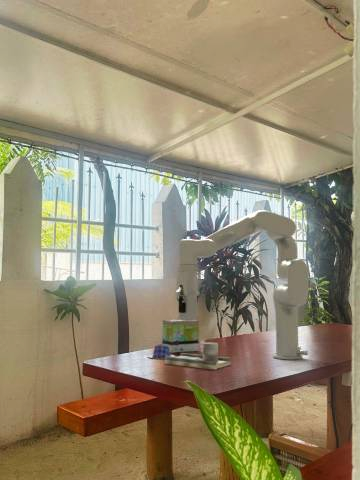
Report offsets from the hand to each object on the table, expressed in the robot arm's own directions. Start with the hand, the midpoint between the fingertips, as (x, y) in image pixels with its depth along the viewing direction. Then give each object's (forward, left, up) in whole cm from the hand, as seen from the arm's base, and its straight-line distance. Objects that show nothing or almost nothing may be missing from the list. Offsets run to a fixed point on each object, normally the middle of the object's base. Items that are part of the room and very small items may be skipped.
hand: (187, 311), depth 183 cm
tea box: (+21, -26, -21) cm, 39 cm away
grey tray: (-5, +1, -20) cm, 21 cm away
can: (0, 0, -3) cm, 3 cm away
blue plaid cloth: (+17, -5, -21) cm, 27 cm away
